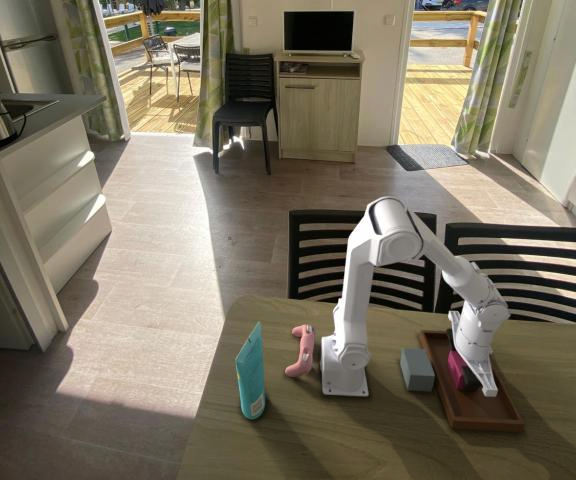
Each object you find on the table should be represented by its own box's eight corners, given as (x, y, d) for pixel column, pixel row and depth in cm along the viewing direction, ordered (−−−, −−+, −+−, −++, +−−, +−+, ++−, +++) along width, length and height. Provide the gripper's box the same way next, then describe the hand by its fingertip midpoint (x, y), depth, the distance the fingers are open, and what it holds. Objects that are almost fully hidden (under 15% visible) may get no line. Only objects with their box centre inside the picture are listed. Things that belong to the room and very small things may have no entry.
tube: (252, 378, 64) (248, 315, 58) (272, 389, 62) (270, 325, 56) (232, 420, 58) (226, 354, 52) (254, 434, 56) (249, 368, 50)
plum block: (456, 389, 62) (460, 375, 61) (446, 364, 66) (450, 350, 65) (478, 390, 62) (483, 376, 60) (467, 365, 66) (471, 351, 65)
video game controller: (301, 386, 64) (316, 371, 62) (282, 376, 64) (297, 360, 62) (307, 338, 73) (320, 323, 71) (291, 328, 73) (304, 313, 71)
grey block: (407, 390, 62) (410, 375, 61) (399, 362, 67) (402, 347, 66) (431, 391, 62) (435, 376, 61) (422, 363, 67) (425, 348, 65)
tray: (451, 428, 57) (453, 420, 56) (419, 337, 72) (420, 329, 71) (521, 432, 56) (524, 424, 55) (474, 339, 72) (476, 332, 71)
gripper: (521, 375, 53) (503, 421, 57) (475, 297, 66) (464, 339, 71) (480, 373, 53) (466, 419, 57) (443, 296, 67) (434, 337, 71)
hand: (462, 374), depth 64 cm, fingers closed on plum block, 4 cm apart
